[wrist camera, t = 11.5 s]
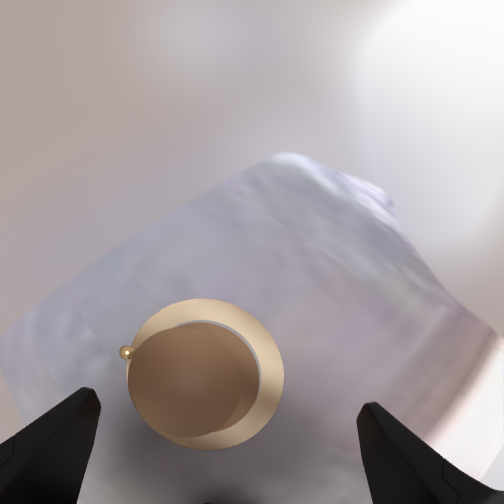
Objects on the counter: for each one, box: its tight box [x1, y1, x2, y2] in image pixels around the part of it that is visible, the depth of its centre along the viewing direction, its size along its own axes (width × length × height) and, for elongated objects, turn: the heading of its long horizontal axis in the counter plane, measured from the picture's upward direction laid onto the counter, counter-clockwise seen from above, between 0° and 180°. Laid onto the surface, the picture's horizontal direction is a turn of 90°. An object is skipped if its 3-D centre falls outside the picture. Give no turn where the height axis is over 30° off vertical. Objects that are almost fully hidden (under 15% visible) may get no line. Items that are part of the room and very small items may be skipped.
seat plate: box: [119, 299, 284, 450], centre depth 19 cm, size 12×12×3 cm
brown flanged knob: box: [128, 322, 259, 438], centre depth 15 cm, size 8×8×9 cm
